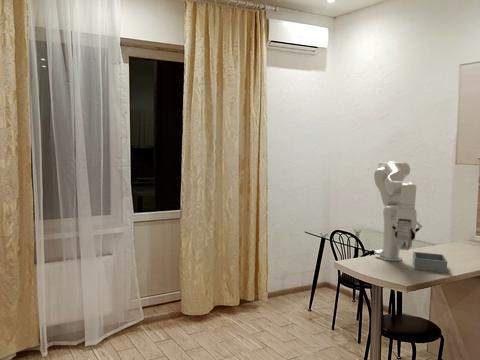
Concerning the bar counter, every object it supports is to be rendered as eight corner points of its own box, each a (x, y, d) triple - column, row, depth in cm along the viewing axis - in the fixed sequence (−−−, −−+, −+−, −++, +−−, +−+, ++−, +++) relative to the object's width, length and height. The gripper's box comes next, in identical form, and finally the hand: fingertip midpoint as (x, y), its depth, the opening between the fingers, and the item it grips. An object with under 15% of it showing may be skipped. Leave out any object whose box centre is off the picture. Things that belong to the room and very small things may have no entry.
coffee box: (399, 245, 243) (402, 216, 241) (411, 247, 240) (414, 218, 238) (395, 248, 236) (398, 219, 234) (408, 250, 232) (410, 220, 230)
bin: (414, 269, 240) (415, 258, 240) (412, 261, 255) (413, 251, 255) (446, 272, 235) (447, 261, 235) (442, 265, 250) (443, 254, 250)
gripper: (390, 206, 234) (387, 238, 236) (425, 209, 229) (422, 242, 231) (389, 204, 241) (387, 235, 243) (424, 206, 236) (421, 239, 238)
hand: (404, 238), depth 237 cm, fingers closed on coffee box, 7 cm apart
